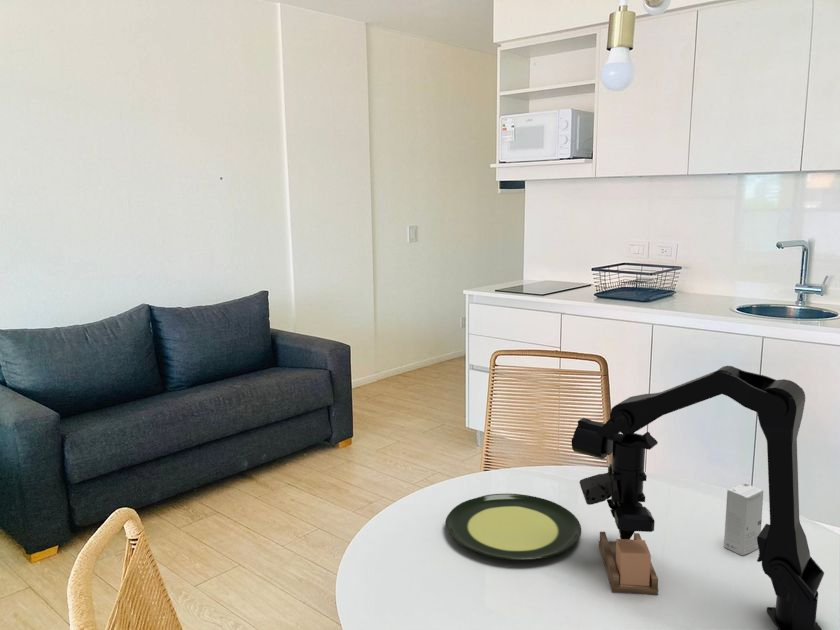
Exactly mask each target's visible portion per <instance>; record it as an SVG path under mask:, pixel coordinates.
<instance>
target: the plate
mask: <svg viewBox="0 0 840 630" xmlns="http://www.w3.org/2000/svg"><path fill="white" fill-rule="evenodd" d="M444 524H445V527H446V530H447V533H448V534H449V535H450V537H451V538H452V539H453V541H455V542H456V543H458V545H460V546H462V547H464V548H466V549H467V550H470V551H472V552H475V553H478V554H481V555H484V556H485V557H486V556H488V557H490V558H495V559H500V560H510V561H533V560H542V559H546V558H550V557H551V558H552V557H554V556H558V555H560V554H562V553H563V554H564V552H567V551H568V550H569V549H571V548H572V547H573V546H574V545H575V544H576V543H577V542H578V541H579V540H580V539H581V536H582V526H581V523H580V521H579V519H578V518H577V517H576V515H575V514H573V513H572V512H571V511H570V510H568V509H567V508H566V507H564V506H562V505H560V504H558V503H556V502H555V501H552V500H549V499H546V498H541V497H538V496H535V495H528V494H521V493H493V494H485V495H482V496H478V497H475V498H470V499H467V500H465V501H463V502H460V503H459V504H457V505H455V506H454V508H452V509H451V511H450V512H449V513H448V514H447V516H446V518H445V523H444Z"/></svg>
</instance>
